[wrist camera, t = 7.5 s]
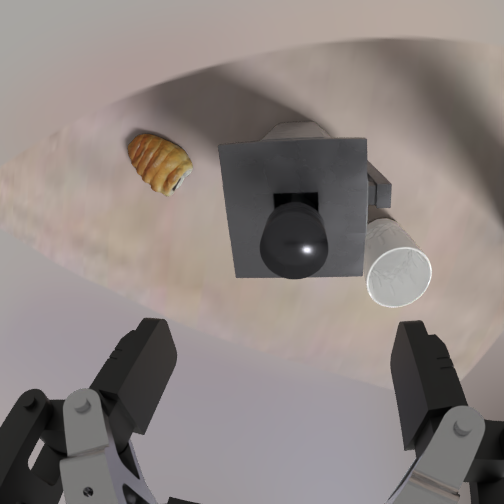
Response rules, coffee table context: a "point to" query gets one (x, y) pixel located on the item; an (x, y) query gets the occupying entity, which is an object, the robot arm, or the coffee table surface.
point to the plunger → (294, 236)
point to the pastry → (159, 162)
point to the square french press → (301, 180)
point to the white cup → (394, 265)
